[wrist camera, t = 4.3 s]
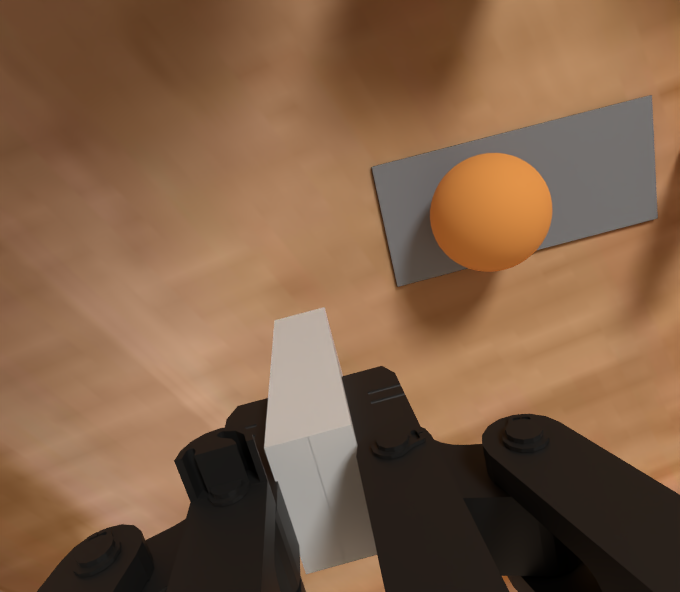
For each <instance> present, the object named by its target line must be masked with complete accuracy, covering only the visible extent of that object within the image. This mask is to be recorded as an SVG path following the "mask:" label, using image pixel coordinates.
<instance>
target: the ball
mask: <svg viewBox="0 0 680 592" xmlns="http://www.w3.org/2000/svg"><path fill="white" fill-rule="evenodd" d="M551 220H552V200H551V195H550V192H549V189H548V186H547V184H546V182H545V181H544V179H543V178H542V176H541V175H540V174H539V173H538V171H537V170H536V169H535V168H534V167H532V166H531V165H530V164H528V163H527V162H525V161H523V160H522V159H520V158H518V157H515V156H512V155H508V154H503V153H485V154H480V155H476V156H473V157H470V158H468V159H466V160H464V161H462V162H460V163H459V164H457V165H456V166H454V167H453V168H452V169H451V170H450V171H449V172H448V173H447V174H446V175H445V176H444V177H443V179H442V180H441V181H440V183H439V185H438V186H437V188H436V190H435V193H434V195H433V198H432V202H431V208H430V222H431V228H432V232H433V234H434V237H435V239H436V241H437V243H438V245H439V246H440V248H441V249H442V250H443V252H444V253H445V254H446V255H447V256H448V257H450V258H451V259H452V260H453V261H455V262H456V263H458V264H460V265H462V266H464V267H466V268H469V269H472V270H477V271H485V272H492V271H500V270H505V269H508V268H511V267H514V266H516V265H518V264H520V263H521V262H523V261H524V260H526V259H527V258H528V257H530V256H531V255H532V254H533V253H534V252H535V251H536V250H537V249H538V248H539V246H540V245H541V244H542V242H543V241H544V239H545V237H546V235H547V233H548V231H549V228H550V224H551Z"/></svg>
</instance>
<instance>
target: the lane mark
mask: <svg viewBox="0 0 680 592" xmlns="http://www.w3.org/2000/svg"><path fill="white" fill-rule="evenodd" d="M485 153H503V154H508V155H512V156H515V157H518V158H520V159H522V160H523V161H525V162H527V163H528V164H530V165H531V166H532V167H534V168H535V169H536V170H537V171H538V173H539V174H540V175H541V176H542V178H543V179H544V181H545V182H546V184H547V186H548V189H549V192H550V195H551V200H552V220H551V224H550V228H549V231H548V233H547V235H546V237H545V239H544V241H543V242H542V244H541V245H540V246H539V248H538V249H537V250H539V249H543V248H547V247H551V246H554V245H558V244H562V243H566V242H570V241H573V240H577V239H581V238H585V237H589V236H592V235H596V234H600V233H604V232H608V231H611V230H615V229H619V228H623V227H627V226H630V225H634V224H638V223H642V222H646V221H649V220H653V219H657V218H658V215H657V194H656V173H655V152H654V131H653V110H652V95H649V96H646V97H642V98H638V99H634V100H630V101H626V102H622V103H618V104H614V105H611V106H607V107H603V108H599V109H595V110H591V111H587V112H583V113H579V114H576V115H572V116H568V117H564V118H560V119H556V120H552V121H548V122H544V123H541V124H537V125H533V126H529V127H525V128H521V129H517V130H513V131H509V132H506V133H502V134H498V135H494V136H490V137H486V138H482V139H478V140H474V141H471V142H467V143H463V144H459V145H455V146H451V147H447V148H443V149H440V150H436V151H432V152H428V153H424V154H420V155H416V156H412V157H408V158H405V159H401V160H397V161H393V162H389V163H385V164H381V165H377V166H373V167H371V168H372V172H373V177H374V182H375V186H376V191H377V195H378V200H379V205H380V209H381V214H382V218H383V223H384V228H385V232H386V237H387V241H388V246H389V251H390V255H391V260H392V265H393V269H394V274H395V278H396V283H397V286H398V287H399V286H403V285H407V284H410V283H414V282H418V281H422V280H425V279H429V278H433V277H437V276H441V275H444V274H448V273H452V272H456V271H460V270H463V269H467V268H466V267H464V266H462V265H460V264H458V263H456V262H455V261H453V260H452V259H451V258H450V257H448V256H447V255H446V254H445V253H444V252H443V250H442V249H441V248H440V246H439V245H438V243H437V241H436V239H435V237H434V234H433V232H432V228H431V222H430V208H431V202H432V198H433V195H434V193H435V190H436V188H437V186H438V185H439V183H440V181H441V180H442V179H443V177H444V176H445V175H446V174H447V173H448V172H449V171H450V170H451V169H452V168H453V167H454V166H456V165H457V164H459V163H460V162H462V161H464V160H466V159H468V158H470V157H473V156H476V155H480V154H485Z"/></svg>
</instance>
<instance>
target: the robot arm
mask: <svg viewBox="0 0 680 592" xmlns="http://www.w3.org/2000/svg"><path fill="white" fill-rule="evenodd" d="M174 462H175V464H176V467H177V469H178V472H179V474H180V477H181V479H182V482H183V484H184V487H185V489H186V492H187V494H188V497H189V499H190V502H191V503H190V506H189V510H188V514H187V517H186V519H185V520H183V521H182V522H180V523H178V524H176V525H175V526H173V527H171V528H169V529H167V530H165V531H163V532H161V533H159V534H157V535H155V536H153V537H151V538H149V539H147V540H145V539H144V536H143V534H142V532H141V530H139V529H138V528H137V527H135V526H134V525H123V524H121V525H117V526H113V527H109V528H106V529H103V530H101V531H99V532H98V533H97V532H96V533H94V534H93V535H91V536H89V537H88V538H87V539H85V540H84V541H83V542H81V543H80V544H78V545H77V546H76V547H74V548H73V549H72V550H71V551H70V552H69V553H68V554H67V556H66V557H65V558H64V559H63V560H62V561H61V562H60V563H59V564H58V566H57V567H56V568H55V570H54V571H53V572H52V573H51V575H50V576H49V577H48V578H47V580H46V581H45V582H44V583H43V585H42V586H41V587H40V588H39V590H38V591H37V592H306V591H305V588H304V585H303V582H302V579H301V576H300V557H301V560H302V563H303V566H304V569H305V572H306V574H309V573H312V572H316V571H320V570H323V569H327V568H330V567H334V566H338V565H341V564H345V563H348V562H352V561H356V560H359V559H363V558H366V557H370V556H374V555H378V560H379V564H380V569H381V574H382V578H383V583H384V588H385V592H509V590H508V588H507V586H506V584H505V582H504V580H503V578H502V576H508V578H509V580H510V582H511V583H512V585H513V586H514V588H515V589H516V590H517V591H518V592H680V495H679V494H678V493H676V492H674V491H673V490H671V489H669V488H668V487H666V486H664V485H663V484H661V483H659V482H658V481H656V480H654V479H653V478H651V477H649V476H648V475H646V474H645V473H643V472H641V471H640V470H638V469H636V468H635V467H633V466H631V465H630V464H628V463H626V462H625V461H623V460H621V459H620V458H618V457H616V456H615V455H613V454H612V453H610V452H608V451H607V450H605V449H603V448H602V447H600V446H598V445H597V444H595V443H593V442H592V441H590V440H588V439H587V438H585V437H583V436H582V435H580V434H579V433H577V432H575V431H574V430H572V429H570V428H569V427H567V426H565V425H564V424H562V423H560V422H558V421H556V420H554V419H551V418H549V417H546V416H541V415H534V414H521V415H519V414H518V415H512V416H508V417H505V418H502V419H499V420H497V421H496V422H494V423H492V424H491V425H489V426H488V427H487V429H486V430H485V432H484V433H483V435H482V444H474V445H451V444H446V443H441V442H439V441H436V440H434V439H433V437H432V436H431V434H430V433H429V432H428V431H427V430H426V429H425V428H422V427H420V425H419V422H418V420H417V418H416V416H415V414H414V412H413V410H412V408H411V406H410V404H409V402H408V399H407V397H406V395H405V394H404V391H403V389H402V387H401V386H400V383H399V381H398V379H397V376H396V374H395V373H394V372H392V371H390V370H389V369H387V368H385V367H383V366H380V367H376V368H372V369H368V370H365V371H361V372H357V373H353V374H350V375H346V376H343V375H342V371H341V367H340V363H339V360H338V356H337V352H336V348H335V345H334V341H333V337H332V333H331V330H330V326H329V322H328V319H327V315H326V311H325V307H324V308H320V309H316V310H312V311H308V312H305V313H301V314H297V315H293V316H289V317H286V318H282V319H278V320H275V322H274V334H273V346H272V358H271V370H270V382H269V394H268V398H266V399H263V400H259V401H255V402H251V403H248V404H244V405H240V406H238V407H237V408H236V409H235V410H234V411H233V413H232V414H231V415H230V416H229V417H228V419H227V420H226V425H225V428H220V429H217V430H214V431H211V432H209V433H206V434H204V435H202V436H200V437H199V438H197V439H195V440H193V441H192V442H190V443H189V444H188V445H187V446H186V447H185V448H183V449H182V450H181V451H180V453H179V454H178V456H177V457H176V459H175V460H174Z"/></svg>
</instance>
